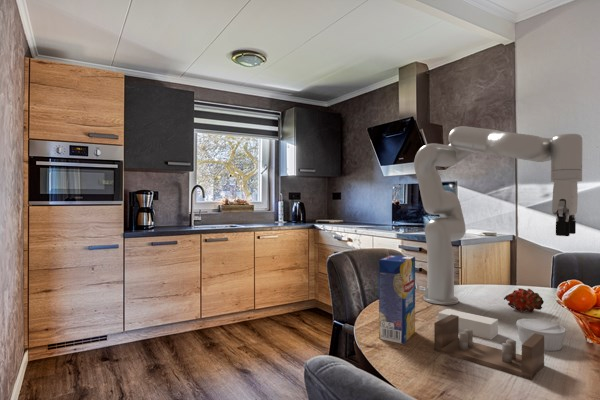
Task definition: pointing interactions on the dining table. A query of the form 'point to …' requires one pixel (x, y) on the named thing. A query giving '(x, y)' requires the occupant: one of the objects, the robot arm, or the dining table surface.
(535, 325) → the ramekin
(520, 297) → the dragon fruit
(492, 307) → the dining table surface
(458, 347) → the peg frame
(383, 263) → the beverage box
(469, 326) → the shelf board
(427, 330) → the dining table surface
